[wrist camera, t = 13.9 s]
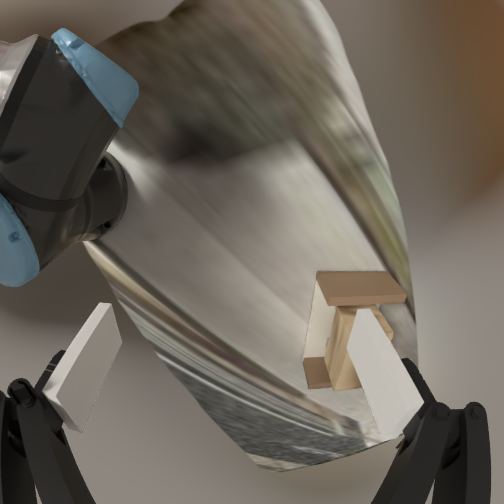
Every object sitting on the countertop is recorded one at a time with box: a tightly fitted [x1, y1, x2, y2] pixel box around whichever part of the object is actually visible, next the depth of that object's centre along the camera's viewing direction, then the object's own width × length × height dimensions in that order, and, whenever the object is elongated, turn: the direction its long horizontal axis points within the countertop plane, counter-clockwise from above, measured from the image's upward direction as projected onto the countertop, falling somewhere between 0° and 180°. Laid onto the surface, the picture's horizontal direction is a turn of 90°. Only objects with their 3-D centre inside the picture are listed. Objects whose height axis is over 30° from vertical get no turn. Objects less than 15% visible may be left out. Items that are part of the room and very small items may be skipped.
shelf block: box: [324, 304, 394, 391], centre depth 41 cm, size 7×12×8 cm, turn 179°
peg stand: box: [302, 271, 407, 389], centre depth 45 cm, size 13×20×8 cm, turn 178°
